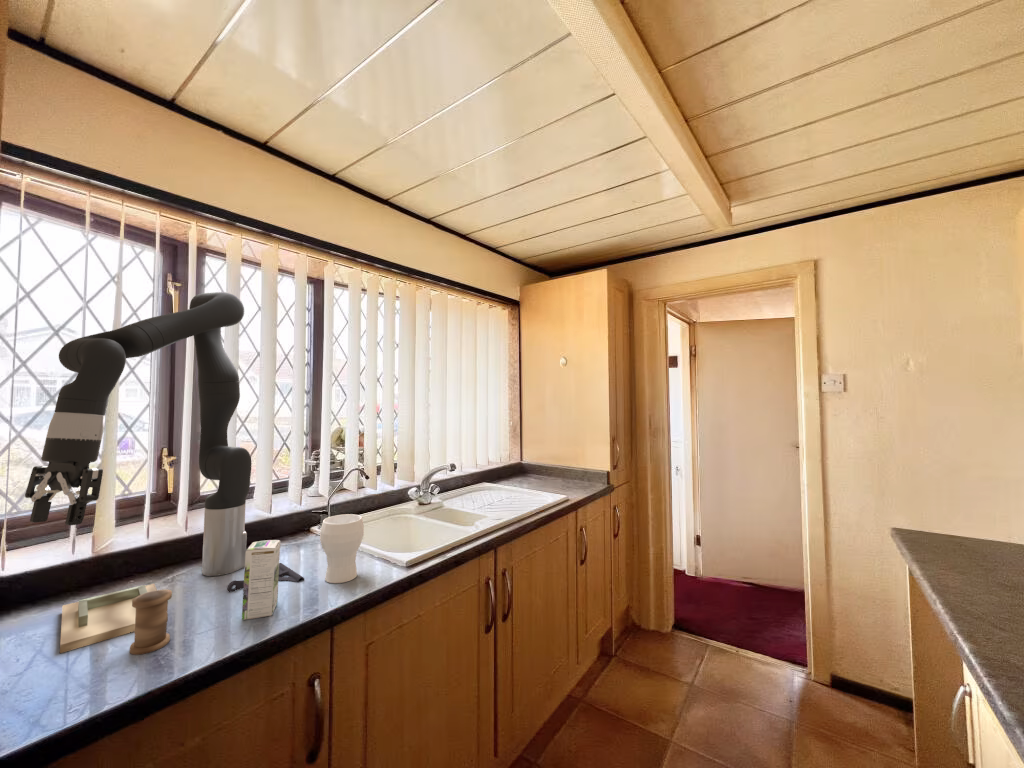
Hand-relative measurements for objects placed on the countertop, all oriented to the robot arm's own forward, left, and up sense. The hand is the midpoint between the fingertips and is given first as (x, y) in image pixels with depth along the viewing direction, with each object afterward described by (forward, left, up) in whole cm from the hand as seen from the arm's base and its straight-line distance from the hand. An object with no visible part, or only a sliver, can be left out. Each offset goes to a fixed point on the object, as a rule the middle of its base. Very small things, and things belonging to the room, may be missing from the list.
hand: (55, 523), depth 77 cm
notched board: (-9, -5, -22) cm, 25 cm away
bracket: (-36, -2, -23) cm, 43 cm away
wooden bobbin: (-13, +14, -22) cm, 29 cm away
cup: (-51, +10, -23) cm, 57 cm away
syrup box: (-31, +15, -23) cm, 41 cm away
